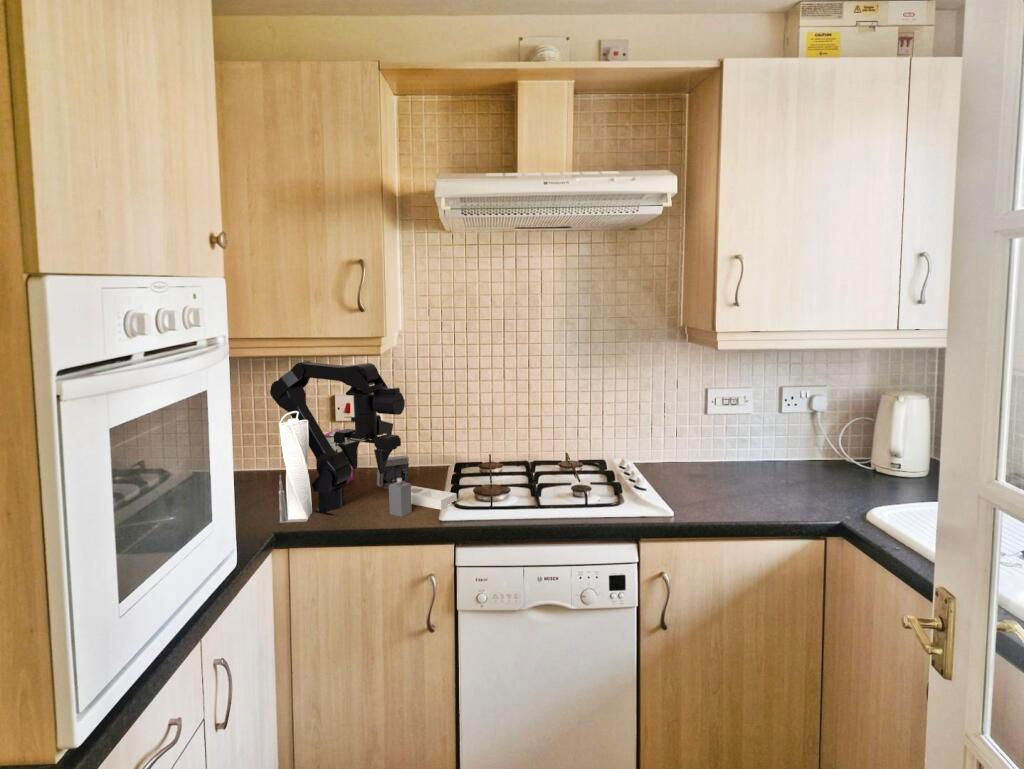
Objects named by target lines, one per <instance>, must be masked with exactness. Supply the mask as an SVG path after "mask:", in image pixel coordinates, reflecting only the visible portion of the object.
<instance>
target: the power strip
mask: <svg viewBox="0 0 1024 769" xmlns="http://www.w3.org/2000/svg"><path fill="white" fill-rule="evenodd" d="M457 496H458V495H457V493H456V492H449V491H443V490H439V489H434V488H426V487H422V486H415V485H411V505H416V506H418V507H419V506H421V507H425V508H430V509H436V510H443V508H444V507H445V506H447V505H448V504H450V503H452V502H454V501H457V502H458V498H457ZM444 509H445V508H444Z"/></svg>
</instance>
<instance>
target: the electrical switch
mask: <svg viewBox="0 0 1024 769" xmlns="http://www.w3.org/2000/svg"><path fill="white" fill-rule="evenodd" d="M409 462H410V457H409V456H408V455H407V454H406V455H397V456H389V457H388V460H387V463H386V466H385V469H384V472H383V473H382V474H380V473H379V470H378V468H377V470H376V471H377V474H376V475H377V476H376V485H377V486H378V487H381V488H382V489H384V490H386V489H389V485H390V484H393V483H396V482H397V478H402V482H405V483H409V469H410V468H409V466H410V463H409Z"/></svg>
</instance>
